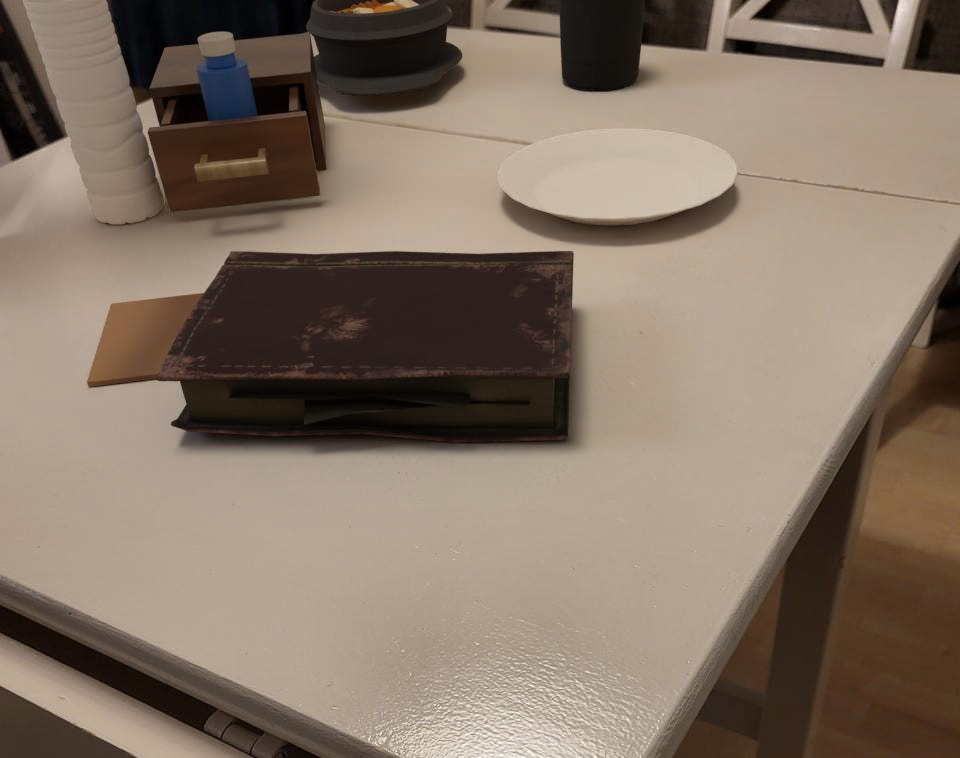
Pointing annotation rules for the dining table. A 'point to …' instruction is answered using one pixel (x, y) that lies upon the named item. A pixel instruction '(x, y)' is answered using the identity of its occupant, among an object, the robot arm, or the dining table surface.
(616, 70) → the pen holder
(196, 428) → the diary
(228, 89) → the bottle
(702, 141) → the plate
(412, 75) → the casserole
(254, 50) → the cabinet
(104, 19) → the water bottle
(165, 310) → the mat
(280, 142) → the drawer
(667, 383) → the dining table surface
